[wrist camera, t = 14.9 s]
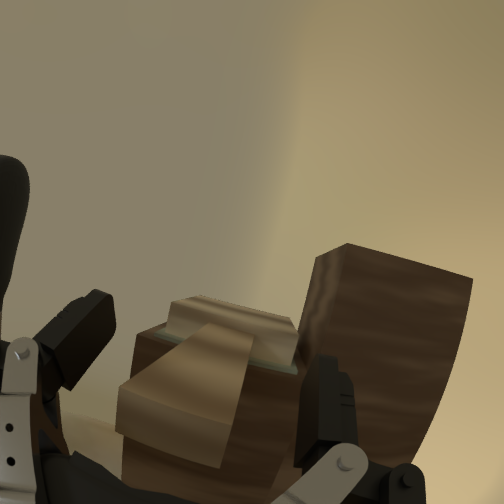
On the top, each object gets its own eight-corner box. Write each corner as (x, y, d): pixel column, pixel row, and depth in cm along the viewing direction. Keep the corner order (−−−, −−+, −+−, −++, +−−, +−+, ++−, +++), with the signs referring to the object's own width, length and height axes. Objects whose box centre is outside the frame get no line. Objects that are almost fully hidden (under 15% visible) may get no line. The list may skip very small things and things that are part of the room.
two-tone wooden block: (347, 551, 16) (473, 278, 18) (121, 511, 18) (168, 201, 20) (329, 490, 29) (405, 279, 32) (159, 455, 31) (206, 231, 34)
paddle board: (320, 484, 7) (349, 424, 7) (42, 390, 7) (44, 328, 7) (283, 339, 30) (289, 317, 31) (195, 316, 31) (200, 295, 31)
